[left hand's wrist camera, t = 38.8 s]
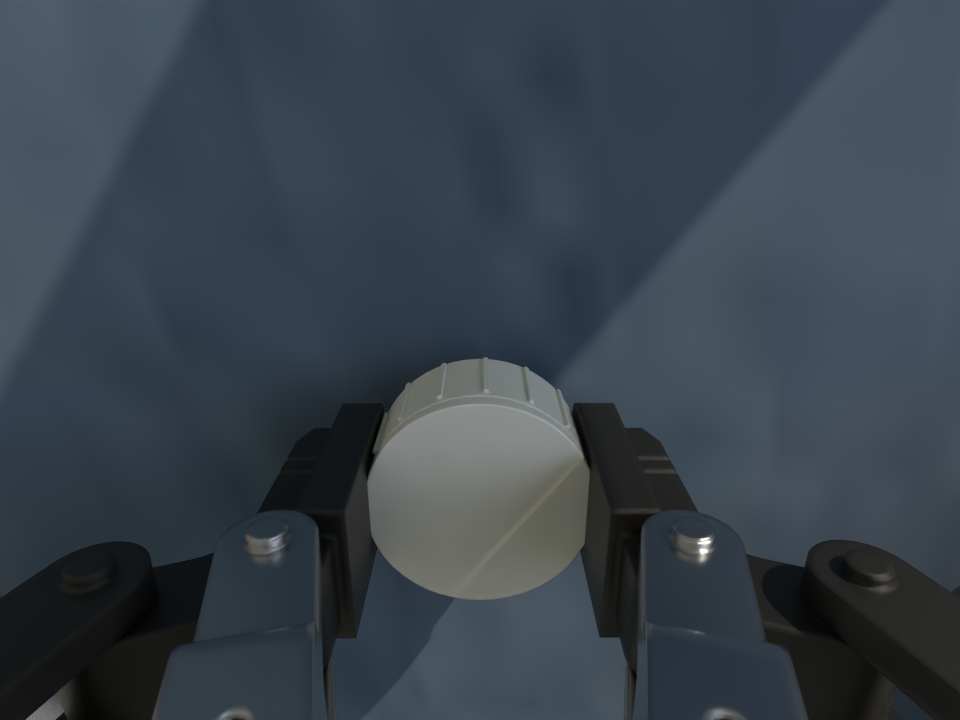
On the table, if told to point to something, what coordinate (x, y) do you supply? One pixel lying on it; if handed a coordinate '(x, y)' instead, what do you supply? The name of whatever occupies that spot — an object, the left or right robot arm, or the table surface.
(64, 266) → the table surface
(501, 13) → the table surface
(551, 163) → the table surface
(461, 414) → the cap
